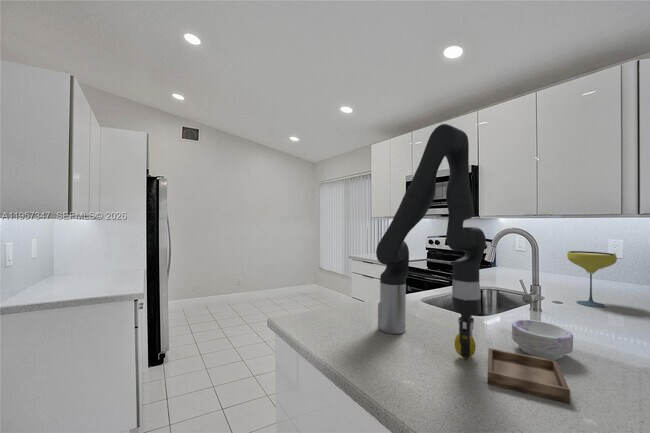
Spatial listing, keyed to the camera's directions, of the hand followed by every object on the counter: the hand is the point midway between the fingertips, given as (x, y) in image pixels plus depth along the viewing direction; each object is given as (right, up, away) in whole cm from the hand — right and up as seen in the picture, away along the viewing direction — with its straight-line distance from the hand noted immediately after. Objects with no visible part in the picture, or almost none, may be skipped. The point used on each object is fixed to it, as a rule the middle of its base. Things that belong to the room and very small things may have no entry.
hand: (466, 351), depth 88 cm
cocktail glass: (+89, -4, +59) cm, 107 cm away
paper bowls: (+25, -3, +4) cm, 25 cm away
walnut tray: (+10, -2, -10) cm, 14 cm away
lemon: (0, -2, 0) cm, 2 cm away
